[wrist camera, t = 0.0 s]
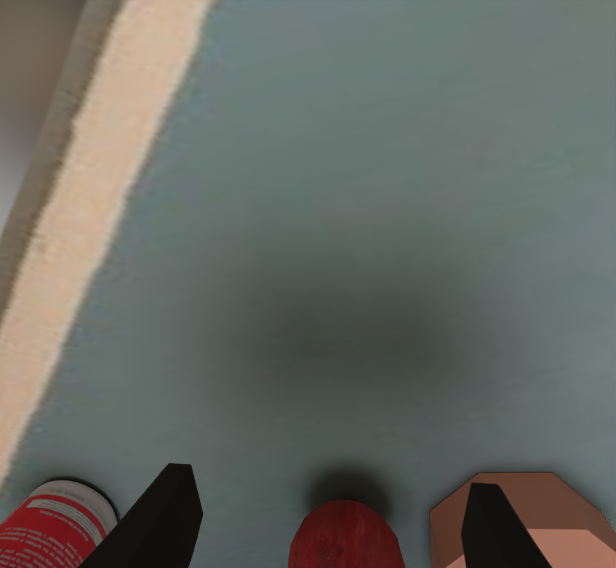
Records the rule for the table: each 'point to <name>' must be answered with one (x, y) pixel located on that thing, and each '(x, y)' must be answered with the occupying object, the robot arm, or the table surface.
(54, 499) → the pill bottle
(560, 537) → the orange octagonal ring
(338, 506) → the onion
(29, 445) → the table surface
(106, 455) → the table surface
